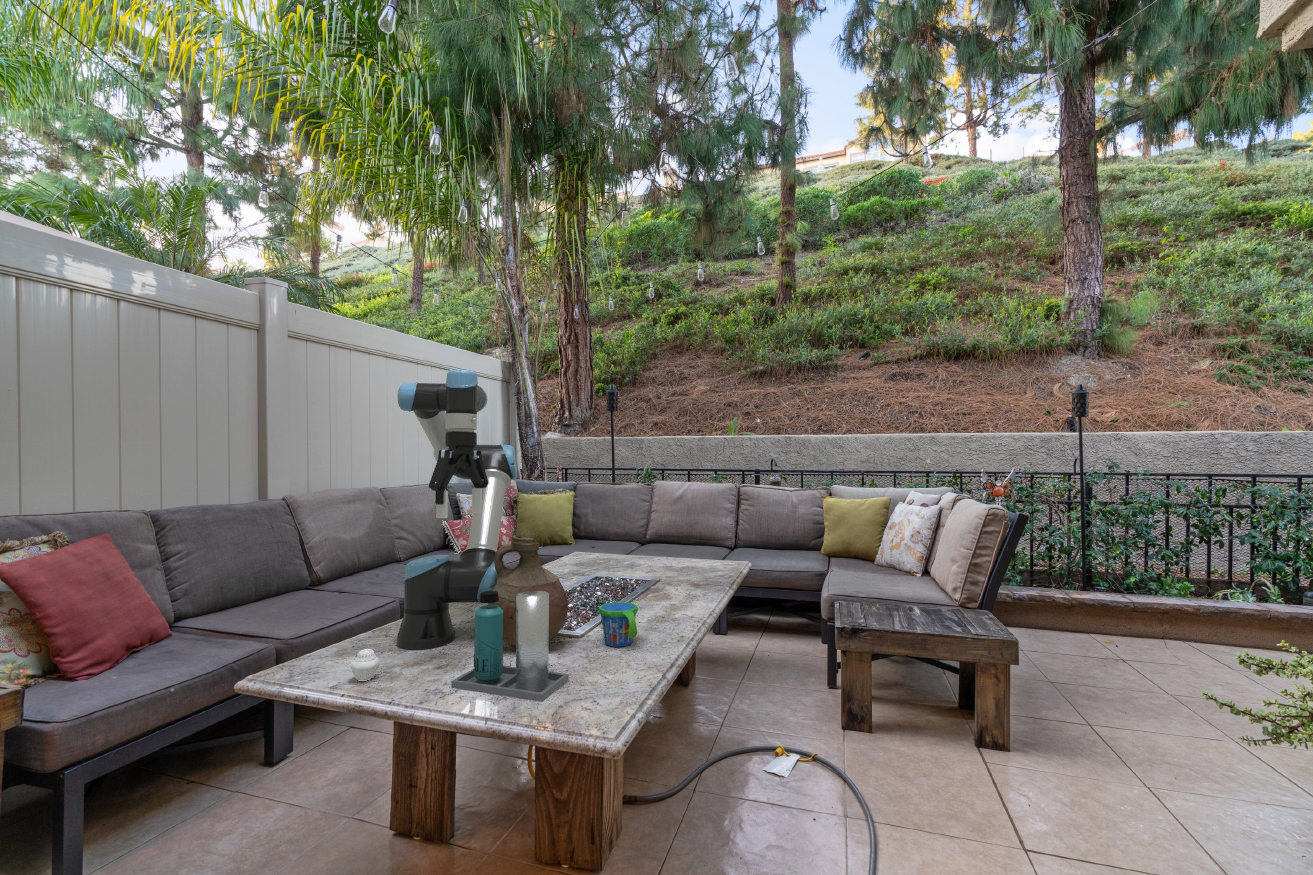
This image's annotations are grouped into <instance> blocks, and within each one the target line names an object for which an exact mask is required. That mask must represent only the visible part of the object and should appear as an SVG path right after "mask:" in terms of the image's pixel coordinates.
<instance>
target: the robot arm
mask: <svg viewBox="0 0 1313 875" xmlns="http://www.w3.org/2000/svg"><path fill="white" fill-rule="evenodd" d="M445 378H446V379H445V382H443V383H438V382H437V383H434V382H433V383H432V382H430V383H429V382H408V383H407V382H405V383H402V384H401V385H400V386H399V387H398V390H397V403H398V404H397V405H398V407H399V409H400V410H401V411H404V412H409V413H410V412H413V413H414V416H415V417H416V419H417V421H418V422H419V424H420V426H421V428H422V429H423V431H424V433H425V435H426V437H427V438H428V441H429V442H430V444H431V446H432V448H433V456H434V459H435V461H436V464H435V467H434V470H433V472H432V475H431V478H430V481H429V484H428V488H429V489H431V491H434V492H435V505H436V506H435V507H436V508H435V513H436V514H435V518H436V519H448V517H449V516H448V514H449V511H448V510H449V507H448V506H449V491H448V490H446V489H447V487H448V486H449V483H450V482H451V480H452V479H453V477H454V476H455V477H456V478H460V479H462V480H470V481H471V483H472V485H473V487H472V489H471V514H472V518H471V522H470V523H471V524H470V529H469V535H468V542H467V546H466V547H467V548H465V549H464V550H462V551H461V552H460V555H459V559H456V560H451V558H450V555H449V554H437V555H430V556H426V557H421V558H416V559H413V560H411V561H409V562H408V563H407V564H406V565H405V569H404V578H403V581H404V583H403V584H404V587H403V590H404V591H403V593H404V594H403V595H404V597H403V599H404V600H403V605H404V606H403V607H404V608H403V617H402V619H401V620H402V621H401V624H400V626H399V630H398V632H397V635H396V646H397V647H398V648H400V649H405V650H425V649H426V650H427V649H432V648H434V649H435V648H437V647H441V646H444V645H447V644H449V643H452V642H453V641H454V640H455V638H456V630H455V627H454V625H453V621H452V617H451V614H450V610H449V604H450V603H451V604H453V603H454V604H457V603H459V604H460V603H461V604H462V603H464V604H465V603H480V604H482V603H481V602H480V594H481V592H484V591H493V589H494V587H495V585H496V584H497V581H498V574H497V572H496V569H495V565H494V556H495V553H496V551H497V550H498V547H499V546H498V545H499V538H500V532H501V525H502V524H501V523H502V516H503V515H502V514H503V508H504V499H505V495H506V490H507V489H508V488H509V487H510V486H511V485H512V481H514V480H517V478H518V466H517V457H516V456H517V455H516V451H515V448H514V446H513V445H511V444H502V443H501V444H500V443H499V444H478V442H477V441H478V433H477V432H475V431H477V429H478V424H477V423H478V420H477V419H478V418H477V415H478V413H479V412H481V411H483V409H485V407H486V406H487V403H488V395H487V393H486V391H485V390H484V389H483V387H482V386H480V385H478V384H479V381H478V373H477V372H476V371H474V370H470V369H469V370H468V369H451V370H448V372H447V373H446V377H445ZM503 564H504V566H505V567H507V565H506V561H505V560H504V559H503Z"/></svg>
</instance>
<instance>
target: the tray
mask: <svg viewBox="0 0 1313 875" xmlns="http://www.w3.org/2000/svg"><path fill="white" fill-rule="evenodd" d="M503 666H504V667H503V669H504V670H503V672H502V675H501V676H500V677H498V678H495V679H491V680H479V679H476V678H475V676H474V674H473V673H474V672H473V670H474V669H473V668H472V669H470V670H469V671H467V672H465V673H463V674H461V675H460V676H458V677H456V678H455V679H452V680H451V683H450V684H451V685H450V686H451V687H450V688H451V689H457V690H463V691H469V692H476V693H482V694H483V693H484V694H489V695H497V696H504V697H508V698H509V697H510V698H516V699H523V700H530V701H535V702H544V701H545V700H546V699H548V697H550V696H551V695H552V694H554V693H555V692H557V690H558V689H560V688H561V687H562V686H564V685H565V684H566V683H568V682H569V673H562V672H555V671H554V672H553V671H549V674H548V687H547V688H546V689H545V690H543V691H541V692H534V691H527V690H520V689H516V666H509V665H503Z"/></svg>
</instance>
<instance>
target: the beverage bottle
mask: <svg viewBox="0 0 1313 875" xmlns="http://www.w3.org/2000/svg"><path fill="white" fill-rule="evenodd" d="M498 601H499V597H498V592H497V591H484V592H481V594H480V602H481V603H480V602H479V603H480V604H485V605H481V606H480V607H479V608H478V609H476V611H475V612H474V630H473V633H474V637H473V640H474V648H473V652H474V654H473V666H472V667H473V668H472V669H474V670H473V672H474V673H473V674H474V676H475V678H476V679H479V680H491V679H495V678H498V677H500V676H501V675H502V672H503V670H504V669H503V667H504V666H505V665H504V649H505V648H504V641H503V610H502V609H501V608H500V607H499V606H497V605H488V603H495V602H498Z"/></svg>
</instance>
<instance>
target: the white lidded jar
mask: <svg viewBox="0 0 1313 875" xmlns="http://www.w3.org/2000/svg"><path fill="white" fill-rule="evenodd" d="M380 664H381V659H380V658H379V657H378V656H377V655H376V654H375V651H374V650H373V649H372V648H365V649H361V650H359V651H358V652H357V654H356V657H355V659H353V661H352V662H351V663H350V665H349V667H350V669H351V673H352V674H353V676H354V678H355V679H356V681H357V680H368V679H371V678H373V679H374V677H375V675H376V673H377V671H378V670H379V667H380Z"/></svg>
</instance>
